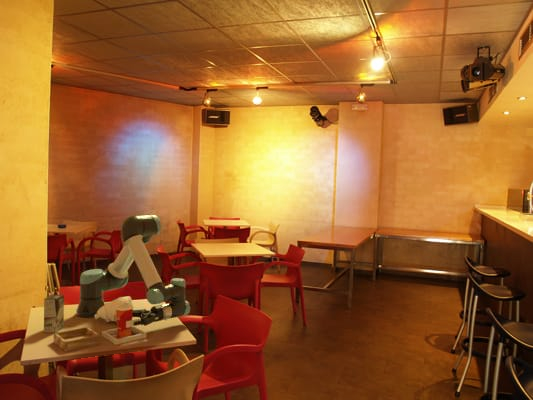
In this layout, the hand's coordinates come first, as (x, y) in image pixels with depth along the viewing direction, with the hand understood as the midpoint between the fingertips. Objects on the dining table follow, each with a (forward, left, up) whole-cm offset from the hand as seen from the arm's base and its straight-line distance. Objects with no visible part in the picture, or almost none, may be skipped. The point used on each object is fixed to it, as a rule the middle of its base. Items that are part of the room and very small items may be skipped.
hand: (119, 320), depth 211 cm
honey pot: (-19, +14, -1) cm, 24 cm away
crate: (-5, -18, -8) cm, 20 cm away
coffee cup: (0, +2, -8) cm, 8 cm away
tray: (0, +2, -8) cm, 8 cm away
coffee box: (-30, -20, -8) cm, 37 cm away
